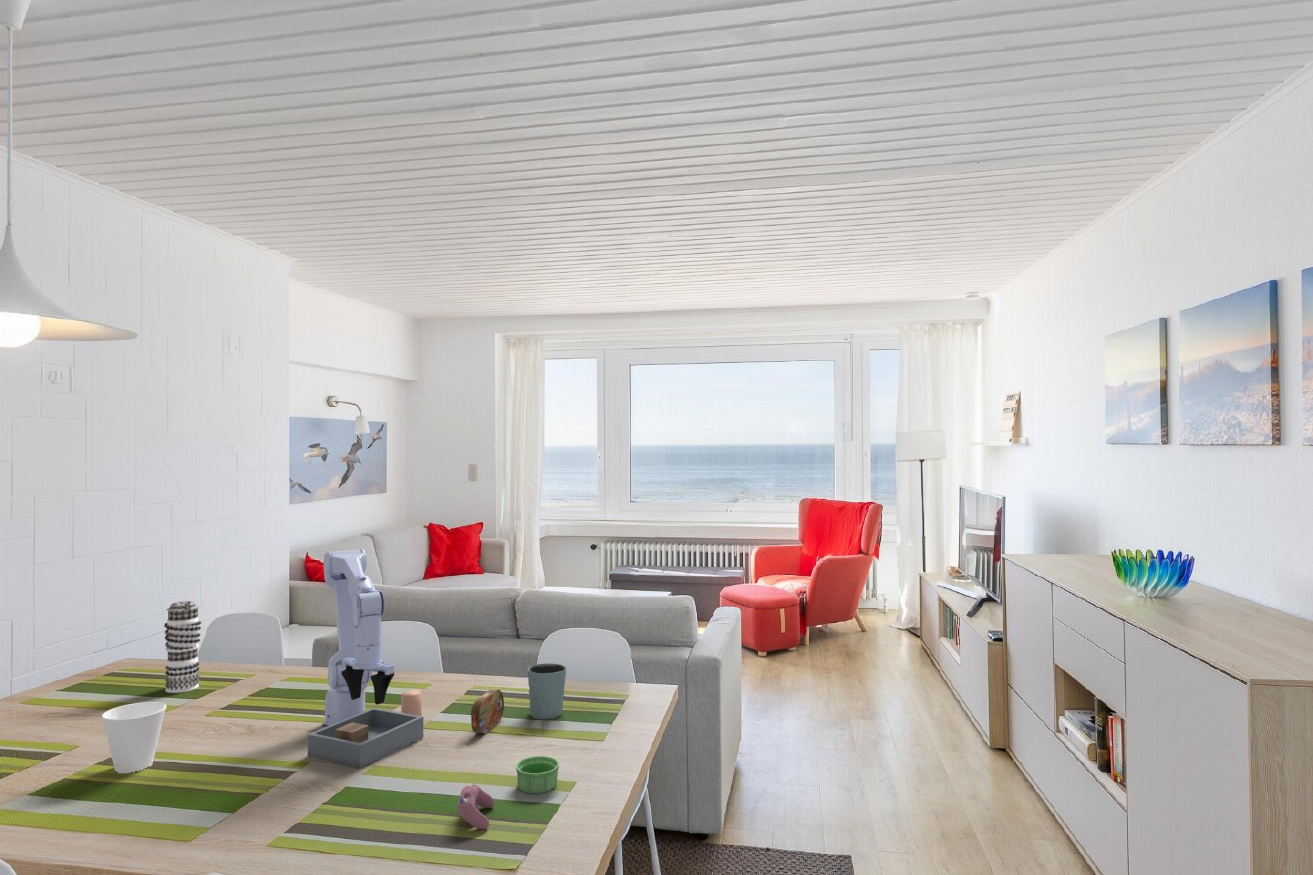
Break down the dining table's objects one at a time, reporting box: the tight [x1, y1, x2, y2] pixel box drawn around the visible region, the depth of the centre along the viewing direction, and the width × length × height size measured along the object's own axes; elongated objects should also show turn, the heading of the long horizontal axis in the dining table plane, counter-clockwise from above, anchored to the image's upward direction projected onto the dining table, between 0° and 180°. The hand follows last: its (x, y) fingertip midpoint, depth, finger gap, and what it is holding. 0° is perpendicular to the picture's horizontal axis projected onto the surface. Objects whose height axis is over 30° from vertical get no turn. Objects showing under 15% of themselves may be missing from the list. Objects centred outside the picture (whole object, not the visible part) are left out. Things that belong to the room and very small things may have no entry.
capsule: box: [400, 689, 423, 717], centre depth 198 cm, size 5×5×7 cm
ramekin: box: [515, 755, 560, 794], centre depth 159 cm, size 9×9×4 cm
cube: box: [335, 722, 369, 743], centre depth 176 cm, size 5×5×5 cm
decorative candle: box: [163, 600, 202, 694], centre depth 225 cm, size 9×9×25 cm
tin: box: [470, 689, 505, 735], centre depth 193 cm, size 15×3×8 cm, turn 168°
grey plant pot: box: [527, 662, 567, 720], centre depth 203 cm, size 10×10×12 cm
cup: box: [101, 701, 167, 774], centre depth 169 cm, size 12×12×12 cm
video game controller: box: [457, 783, 495, 830], centre depth 145 cm, size 10×5×7 cm, turn 5°
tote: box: [307, 707, 424, 769], centre depth 180 cm, size 16×20×5 cm
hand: (367, 700), depth 181 cm, fingers open, 7 cm apart
